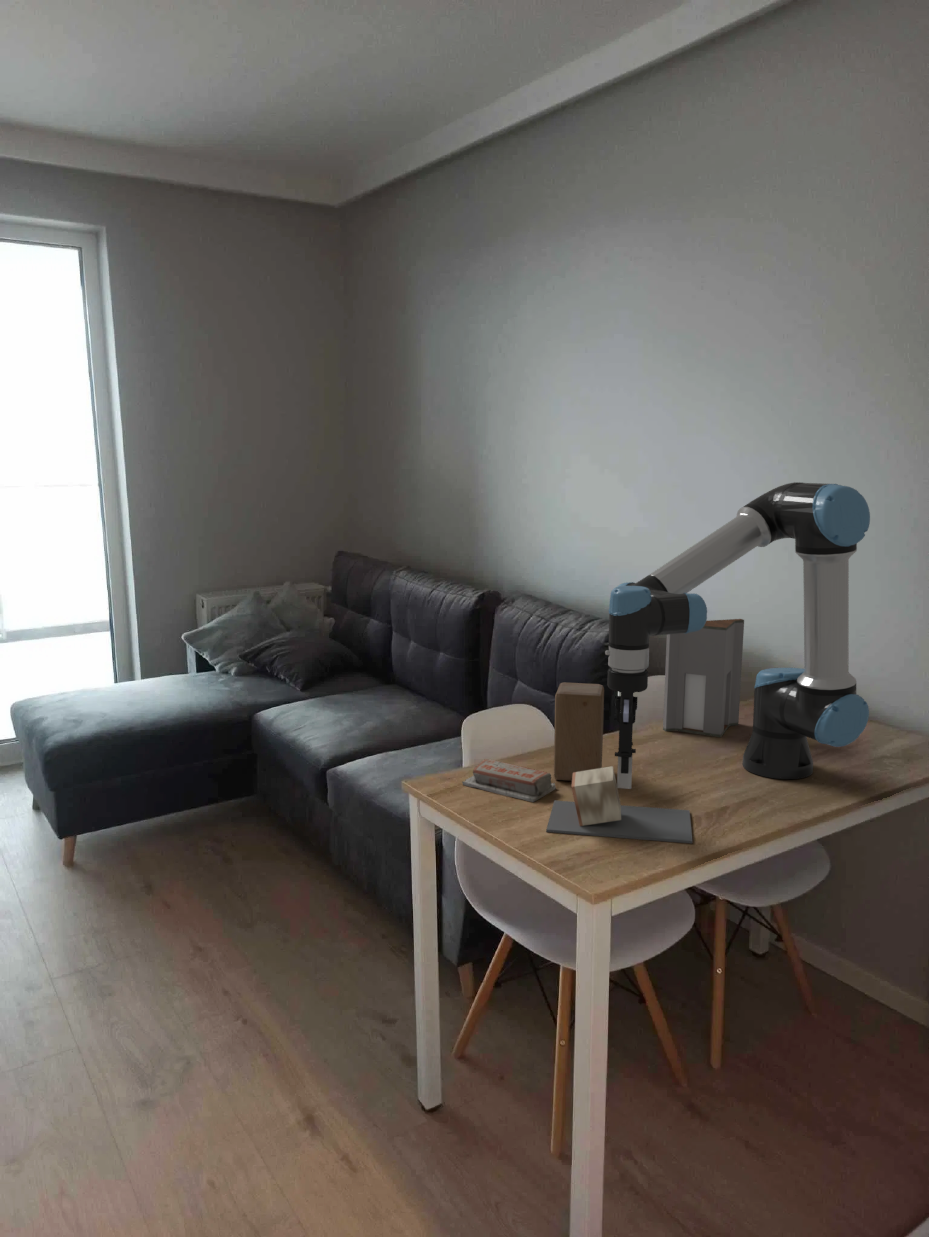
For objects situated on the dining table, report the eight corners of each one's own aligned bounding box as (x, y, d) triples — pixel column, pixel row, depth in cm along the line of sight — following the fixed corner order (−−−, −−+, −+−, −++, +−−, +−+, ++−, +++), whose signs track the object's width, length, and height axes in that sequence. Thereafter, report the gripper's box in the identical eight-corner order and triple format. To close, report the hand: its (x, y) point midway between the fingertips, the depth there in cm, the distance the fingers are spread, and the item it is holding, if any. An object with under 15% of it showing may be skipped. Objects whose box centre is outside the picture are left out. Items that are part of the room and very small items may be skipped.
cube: (612, 766, 186) (572, 772, 187) (613, 780, 178) (571, 786, 179) (620, 804, 187) (580, 810, 188) (621, 819, 179) (579, 826, 181)
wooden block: (599, 784, 204) (601, 694, 200) (553, 781, 206) (554, 692, 202) (602, 768, 214) (604, 683, 210) (557, 765, 216) (559, 681, 212)
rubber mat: (689, 812, 188) (689, 810, 188) (692, 843, 174) (692, 840, 174) (554, 802, 194) (554, 800, 193) (546, 831, 179) (546, 829, 179)
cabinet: (735, 723, 248) (740, 618, 243) (755, 734, 239) (762, 625, 234) (662, 729, 243) (667, 622, 237) (681, 741, 234) (686, 630, 228)
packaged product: (557, 768, 201) (533, 782, 193) (557, 790, 202) (533, 805, 194) (486, 753, 211) (461, 765, 203) (486, 773, 212) (461, 787, 204)
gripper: (609, 659, 185) (606, 774, 189) (606, 675, 172) (602, 798, 177) (648, 661, 183) (644, 776, 188) (648, 677, 171) (643, 800, 175)
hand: (624, 786), depth 182 cm, fingers closed
